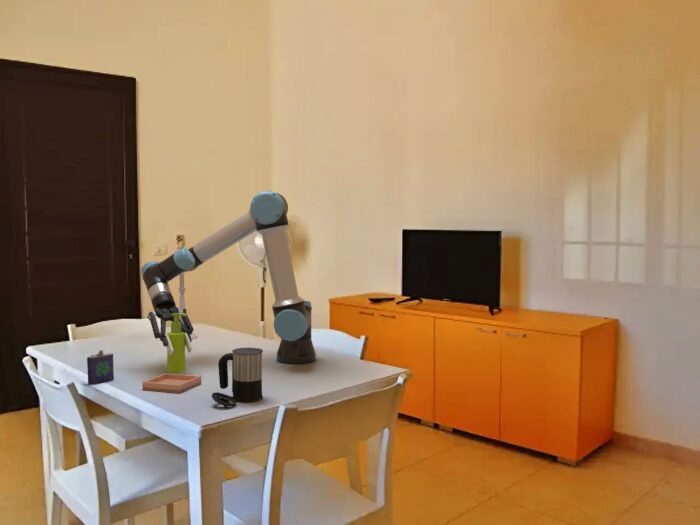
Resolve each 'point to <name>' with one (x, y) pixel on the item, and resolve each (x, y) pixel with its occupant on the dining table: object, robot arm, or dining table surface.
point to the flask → (100, 368)
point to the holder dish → (171, 383)
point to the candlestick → (182, 301)
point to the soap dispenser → (176, 346)
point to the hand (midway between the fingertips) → (181, 351)
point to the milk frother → (241, 376)
